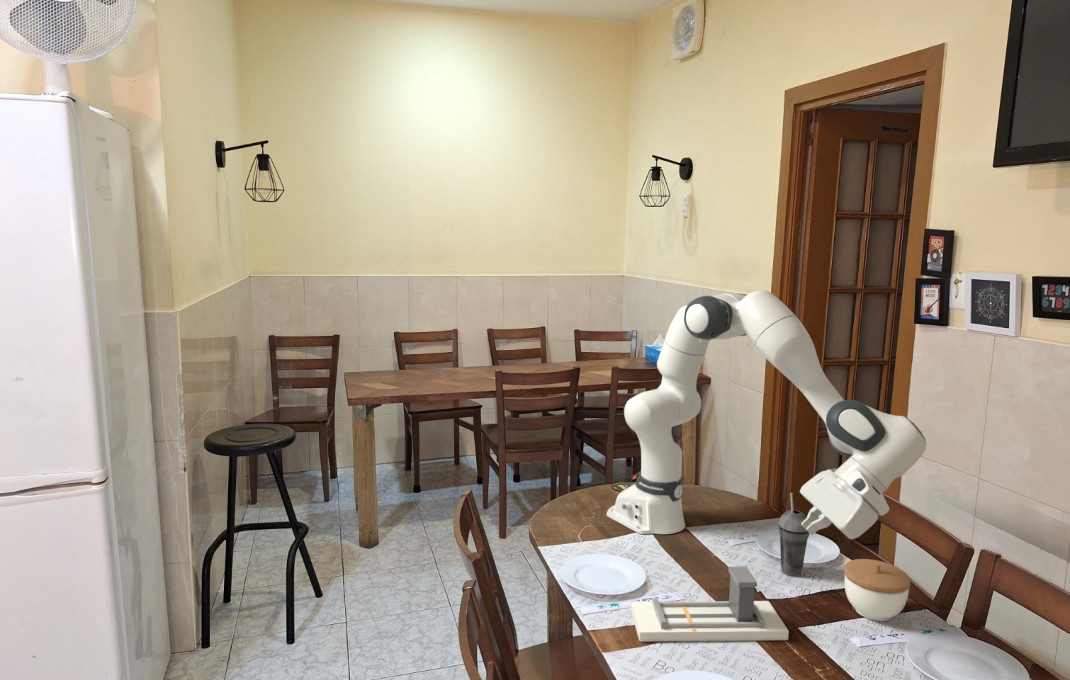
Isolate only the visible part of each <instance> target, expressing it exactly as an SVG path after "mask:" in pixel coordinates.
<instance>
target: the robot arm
mask: <svg viewBox="0 0 1070 680" xmlns="http://www.w3.org/2000/svg"><path fill="white" fill-rule="evenodd" d="M745 336H747V337H748V338H749V340H750V341H751V342H752V343H753V345H754V346H755V348H756V349H757V350H758V351H759V352H760V354H761V355H762V356H763V357H764V358H765V359H766V360H767V361H768V362H769V363H770V364H771V365H773V367H774V368H776V369H777V370H778V371H779V372H780V373H781V374H782V375H784V376H785V377H786V378H787V380H789V381H790V382H791V383H792V384H793V385H794V386H795V387H796V388H797V389H799V391H800V392H801V393H802V395H803V396H804V397H805V398H806V400H807V401H808V403H809V404H810V405H811V407H812V408H813V409H814V411H815V412H816V413H817V414H818V416H819V417H820V418H821V420H822V421H823V423H824V424H825V427H826V429H827V435H828V441H829V442H830V444H831V447H832V448H833V449H834V451H835V452H836V453H838V454H839V455H841V456H842V457H844V458H847V459H846V460H845V461H844V462H843V463H842V464H841V465H840V466H839V467H838V468H834V467H833V468H830V469H827V470H822V471H820V472H819V473H817V474H816V475H814V476H813V477H812V478H811V479H809V480H808V481H806V483H804V484H803V485H802V486H801V488H800V490H799V493H800V494H801V495H802V497H804V498H805V499H806V501H808V502H809V503H810V504H811V505H812V506H813V507H811V509H809V511H808V514H807V516H806V517H807V518H806V519H805V520H804V521H803V522H802V523H801V525H802V526H803V527H804V528H805V529H806V530H807V531H808V532H809V535H814V534H816V533H817V532H818V531H820V530H823V529H825V528H828V527H829V526H830V525H831V524H833V525H834V526H835V527H836V528H837V529H838V530H839V531H841V533H842V534H844V535H845V536H846V537H847V538H848V539H849V540H853V539H856V538H859V537H861V536H862V535H863V534H864V533H865V532H866V531H868V530H869V529H871V527H872V526H873V525H874V524H875V523H876V522H877V521H878V519H879V516H885V515H886V514H887V513H888V512H889V511H890V507H889V505H888V502H887V501H886V499H885V496H884V495H883V493H884V492H886V491H887V490H888V489H889V488H890V485H891V484H892V483H893V481H894V480H896V479H898V478H900V477H902V476H903V475H905V474H906V473H907V472H908V471H909V470H910V469H911V468H912V467H913V466H914V465H915V464H916V463H918V461H919V459H920V458H921V457H922V456H923V455H924V453H925V452H926V450H927V449H926V448H927V442H926V437H925V436H924V435H923V432H922V431H921V429H919V427H918V426H917V425H916V424H915V423H914V422H913V421H912V420H910V419H909V418H908V417H906V416H905V415H896V414H895V415H894V414H889V413H886V412H882V411H880V410H877V409H875V408H873V407H871V406H869V405H867V404H865V403H863V402H860V401H859V400H854V399H846V400H845V399H844V398H843V396H842V395H841V394H840V393H839V391H838V390H837V389H836V388H835V387H834V386H833V384H832V383H831V381H830V380H829V379H828V377H827V376H826V374H825V373H824V370H823V369H822V367H821V364H820V360H819V357H818V355H817V351H816V348H815V344H814V342H813V340H812V338H811V336H810V334H809V332H808V331H807V329H806V328H805V326H804V325H803V323H802V322H801V320H800V319H799V317H797V316H796V315H795V314H794V312H793V311H792V310H791V309H790V308H789V307H788V306H787V305H786V304H785V303H783V302H782V300H780V299H779V298H778V297H777V296H776V295H774V294H773V293H771V292H770V291H768V290H765V289H758V290H754V291H752V292H750V293H748V294H746V293H726V292H725V293H719V294H714V295H703V296H699V297H697V298H694V299H693V300H691V301H690V302H689V303H688V304H686V305H683V306H681V307H680V308H679V309H678V310H677V311H676V313H675V315H674V317H673V319H672V320H671V323H670V325H669V327H668V330H667V332H666V335H665V338H664V341H663V344H662V346H661V347H662V348H661V350H660V353H659V356H658V359H657V362H656V367H657V370H658V371H659V373H660V374H661V377H662V378H661V383H660V385H659V386H658V387H657V388H655V389H651V390H646V391H642V392H640V393H638V394H636V395H634V396H633V397H631V398H629V400H627V401H626V404H625V405H624V407H623V414H624V419H625V422H626V424H627V426H628V427H629V428H630V429H631V430H632V431H633V432H635V434H636V435H637V438H638V442H639V446H640V460H641V461H640V463H641V464H640V467H641V468H640V471H639V472H637V473H636V474H634V475H632V480H636V481H635V483H634V484H632V485H630V486H629V487H626V488H625V489H623V490H622V491H621V492H620V493H618V495H617V497H616V500H615V504H614V505H612V506H611V507H609V508H608V509H607V511H606V517H608V518H610V519H611V520H613V521H615V522H617V523H619V524H621V525H622V526H624V527H626V528H628V529H630V530H631V531H634V532H636V533H637V534H639V535H650V534H652V535H653V534H655V535H656V534H657V535H670V534H675V533H679V532H682V531H683V530H684V529H685V527H686V523H685V518H684V513H683V506H682V496H683V487H684V486H683V483H684V481H683V479H684V478H683V475H682V468H683V467H682V465H683V451H682V448H681V446H680V445H679V444H678V443H676V442H675V441H674V438H673V434H672V429H673V427H675V426H678V425H682V424H686V423H688V422H689V421H691V420H693V419H694V418H695V417H696V416H697V415H699V413H700V411H701V409H702V399H701V396H700V393H699V392H698V391H697V383H698V382H697V381H698V377H699V372H700V370H701V368H702V367H701V366H702V364H703V361H704V358H705V356H706V353H707V351H708V347H709V344H710V341H711V340H729V339H732V338H737V337H745Z"/></svg>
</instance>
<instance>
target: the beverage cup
mask: <svg viewBox="0 0 1070 680" xmlns="http://www.w3.org/2000/svg"><path fill="white" fill-rule="evenodd" d="M789 496H790V509H789V510H787V511H785V512H784V513H783V514H782V515H781V516H780V517H779V521H778V524H777V525H778V532H779V542H780V543H779V544H780V548H779V549H780V568H781V570H780V572H781V573H782V574H784V575H786V576H787V577H791V578H797V577H801V575H802V571H803V568H804V567H803V566H804V562H805V561H804V560H805V556H806V550H807V543H808V539H809V536H810V533H809V532H808V531H807V530H806V529H805V528H804V527H803V526H802V525H801V523H802V522H803V521H804V520H805V519H806V518H807V516H806V514H804V513H803V512H802V511H799V510H797V509H794V499H793V498H794V497H793V496H794V495H793V492H790V493H789Z"/></svg>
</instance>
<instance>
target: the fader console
mask: <svg viewBox="0 0 1070 680" xmlns="http://www.w3.org/2000/svg"><path fill="white" fill-rule="evenodd" d="M630 612H631V615H632V616H631V617H632V619H633V623H634V626H635V630H636V634H637V638H638V640H639V642H641V643H642V642H719V641H720V642H723V641H724V642H726V641H728V642H730V641H731V642H732V641H733V642H736V641H737V642H739V641H740V642H741V641H745V642H746V641H789V630H788V627H786V625H785V623H784V622H783V619H781V618H780V616H779V614H778V613H777V611H776V610H775V608H774V607H773V605H772V604H771V603H770V601H769V600H754V605H753V621H752V622H737V620H736V619H735V617H734V615H733V613H732V611H731V610H730V608H729V600H727V601H726V600H725V601H723V600H721V601H719V600H718V601H713V600H711V601H659V599H658V598H655V597H654V598H652V601H632V602H630Z"/></svg>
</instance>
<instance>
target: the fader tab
mask: <svg viewBox="0 0 1070 680" xmlns="http://www.w3.org/2000/svg"><path fill="white" fill-rule="evenodd" d="M728 572H729V574H730V579H729V597H728V601H729V608H730V610H731V611H732V613H733V615H734V617H735V619H736V620H737V622H752V621H753V605H754V601H755V600H754V599H755V588H757V587H758V581H757V580H756V578H755V576H754V575H753V574H752V572H751V571H750V569H749V568H748V566H728Z"/></svg>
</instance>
